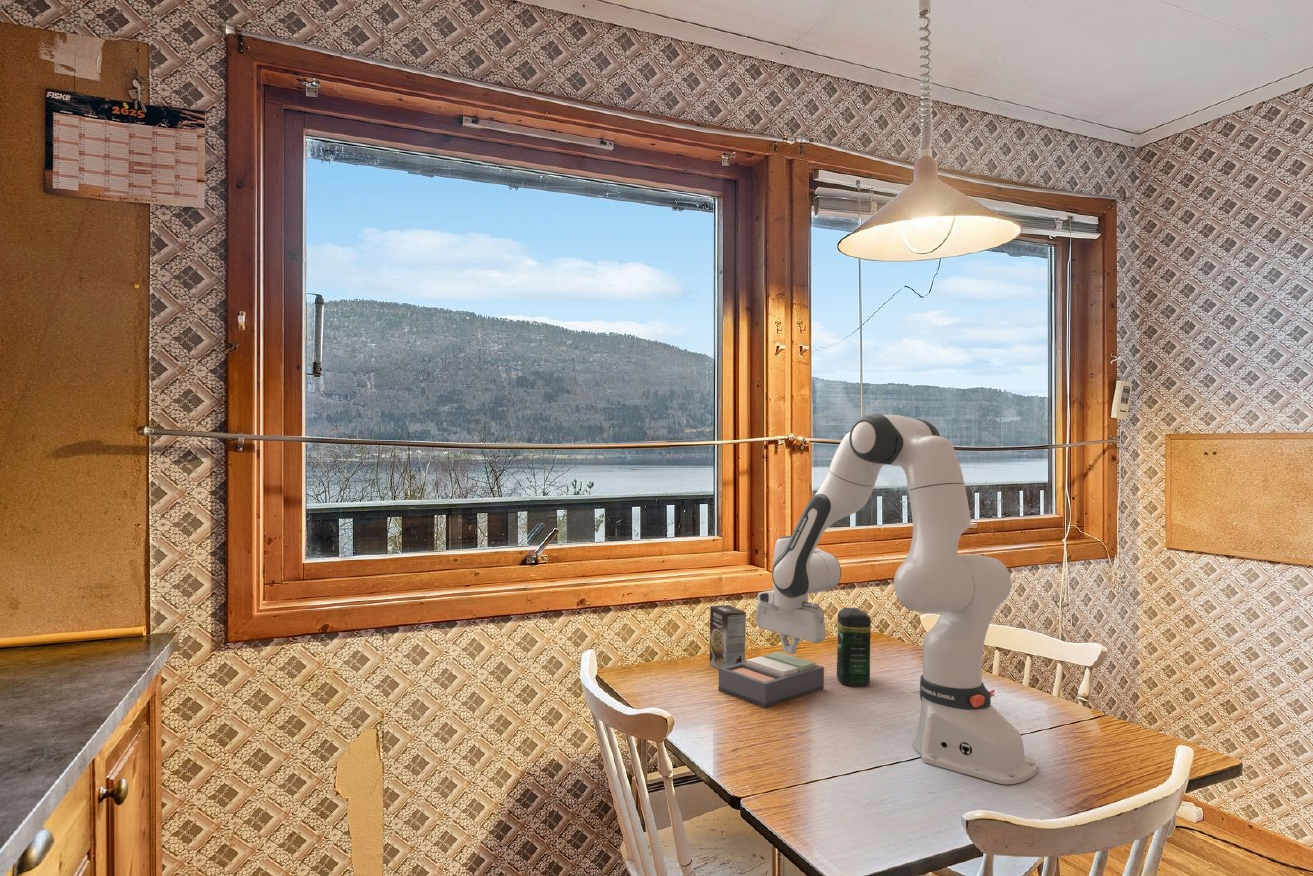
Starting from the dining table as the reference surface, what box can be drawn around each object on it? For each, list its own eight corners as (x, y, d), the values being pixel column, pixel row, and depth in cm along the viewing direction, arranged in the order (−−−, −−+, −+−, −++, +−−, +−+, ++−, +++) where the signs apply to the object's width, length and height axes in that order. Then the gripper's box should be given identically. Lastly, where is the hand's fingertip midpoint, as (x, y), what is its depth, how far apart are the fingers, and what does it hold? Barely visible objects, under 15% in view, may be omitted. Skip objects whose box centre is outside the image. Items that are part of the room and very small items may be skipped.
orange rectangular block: (779, 692, 174) (779, 680, 174) (764, 697, 171) (764, 684, 171) (741, 679, 183) (742, 667, 183) (727, 683, 180) (727, 671, 180)
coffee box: (708, 664, 202) (709, 606, 202) (728, 662, 204) (729, 604, 205) (725, 674, 193) (725, 613, 194) (745, 671, 196) (746, 611, 196)
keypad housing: (823, 689, 182) (823, 667, 182) (764, 708, 168) (765, 684, 169) (777, 673, 194) (777, 653, 194) (718, 690, 180) (718, 668, 180)
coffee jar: (873, 688, 184) (874, 614, 184) (841, 687, 184) (842, 613, 184) (863, 676, 194) (864, 605, 194) (833, 675, 194) (834, 605, 194)
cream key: (797, 680, 178) (797, 667, 178) (783, 684, 175) (783, 671, 175) (760, 667, 188) (760, 656, 188) (746, 671, 184) (746, 659, 184)
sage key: (815, 674, 183) (815, 662, 183) (801, 678, 179) (802, 666, 179) (777, 663, 192) (778, 651, 192) (764, 666, 189) (764, 655, 189)
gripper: (831, 604, 180) (830, 660, 180) (768, 590, 196) (768, 641, 196) (815, 607, 176) (814, 665, 176) (752, 593, 192) (751, 645, 192)
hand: (789, 652), depth 186 cm, fingers closed
